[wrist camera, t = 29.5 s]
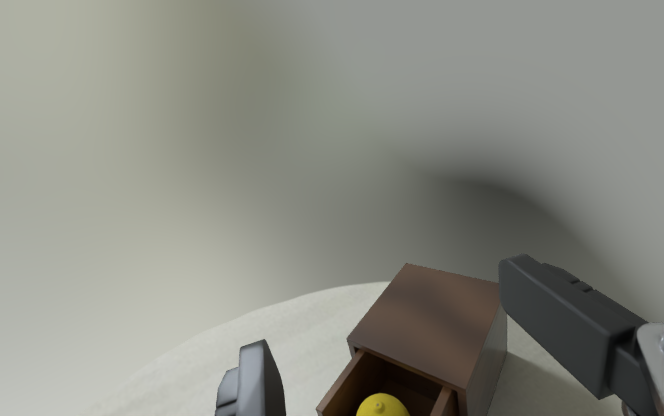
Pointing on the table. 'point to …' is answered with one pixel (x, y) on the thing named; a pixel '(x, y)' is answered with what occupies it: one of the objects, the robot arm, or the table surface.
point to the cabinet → (440, 332)
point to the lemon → (382, 406)
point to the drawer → (386, 389)
